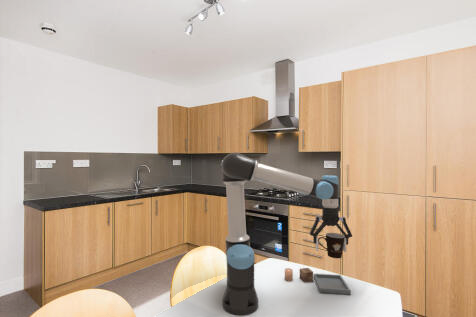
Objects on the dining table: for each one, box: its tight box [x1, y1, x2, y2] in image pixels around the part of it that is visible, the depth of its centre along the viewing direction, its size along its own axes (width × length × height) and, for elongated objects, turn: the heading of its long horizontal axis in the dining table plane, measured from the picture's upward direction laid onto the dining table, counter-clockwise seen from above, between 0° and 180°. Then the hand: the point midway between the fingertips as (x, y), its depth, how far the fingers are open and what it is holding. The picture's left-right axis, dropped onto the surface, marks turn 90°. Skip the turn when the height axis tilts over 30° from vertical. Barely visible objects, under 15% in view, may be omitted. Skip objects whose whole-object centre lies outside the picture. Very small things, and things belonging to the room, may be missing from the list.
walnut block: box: [299, 267, 314, 284], centre depth 127 cm, size 5×5×5 cm
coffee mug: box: [318, 232, 345, 259], centre depth 121 cm, size 12×9×10 cm
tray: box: [313, 273, 352, 296], centre depth 120 cm, size 14×16×2 cm
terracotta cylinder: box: [284, 267, 294, 282], centre depth 127 cm, size 4×4×5 cm
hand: (330, 250), depth 121 cm, fingers closed on coffee mug, 12 cm apart
